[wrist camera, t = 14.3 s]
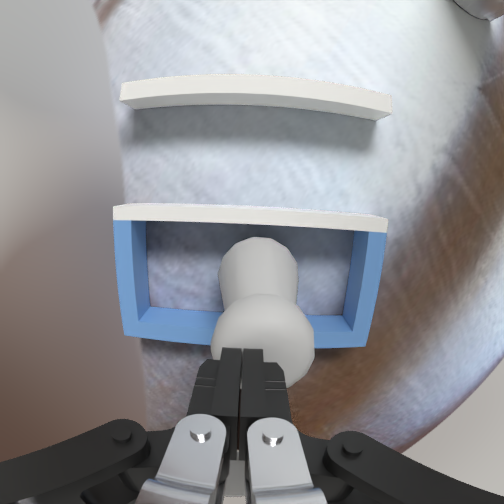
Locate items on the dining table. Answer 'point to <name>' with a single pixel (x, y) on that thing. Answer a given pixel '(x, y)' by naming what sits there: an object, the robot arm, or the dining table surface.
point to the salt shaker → (263, 307)
